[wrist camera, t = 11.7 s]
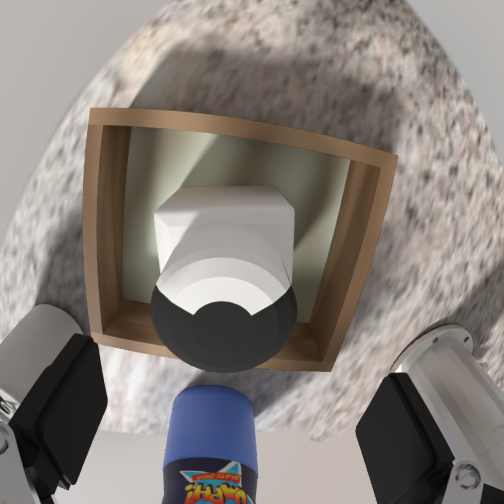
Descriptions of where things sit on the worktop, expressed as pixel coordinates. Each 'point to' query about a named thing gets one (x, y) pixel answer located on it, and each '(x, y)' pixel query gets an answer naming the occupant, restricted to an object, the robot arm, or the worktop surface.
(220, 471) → the water bottle
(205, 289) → the medicine bottle
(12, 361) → the can
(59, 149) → the worktop surface
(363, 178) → the crate
